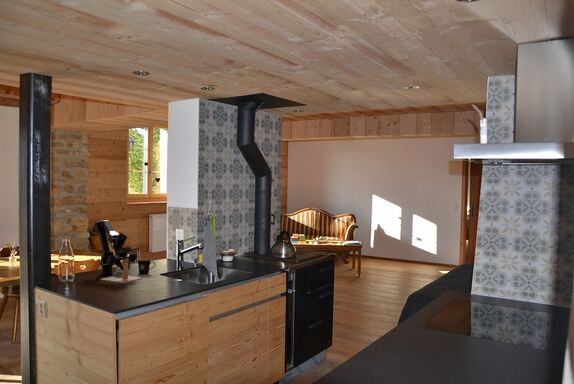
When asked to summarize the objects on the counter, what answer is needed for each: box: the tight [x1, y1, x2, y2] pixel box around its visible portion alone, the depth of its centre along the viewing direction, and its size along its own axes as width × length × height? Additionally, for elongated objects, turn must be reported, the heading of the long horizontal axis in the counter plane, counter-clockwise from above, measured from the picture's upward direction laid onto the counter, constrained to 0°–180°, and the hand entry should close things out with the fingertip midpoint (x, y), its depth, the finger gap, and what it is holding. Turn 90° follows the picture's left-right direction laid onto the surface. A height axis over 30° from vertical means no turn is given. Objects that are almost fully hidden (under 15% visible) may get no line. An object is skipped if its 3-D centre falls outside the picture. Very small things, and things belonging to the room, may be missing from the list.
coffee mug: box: [137, 258, 156, 276], centre depth 329 cm, size 12×9×10 cm
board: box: [100, 271, 143, 284], centre depth 310 cm, size 20×17×3 cm
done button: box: [115, 266, 122, 273], centre depth 316 cm, size 4×4×4 cm
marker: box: [121, 259, 129, 280], centre depth 303 cm, size 4×4×13 cm
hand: (126, 269), depth 302 cm, fingers closed on marker, 4 cm apart
